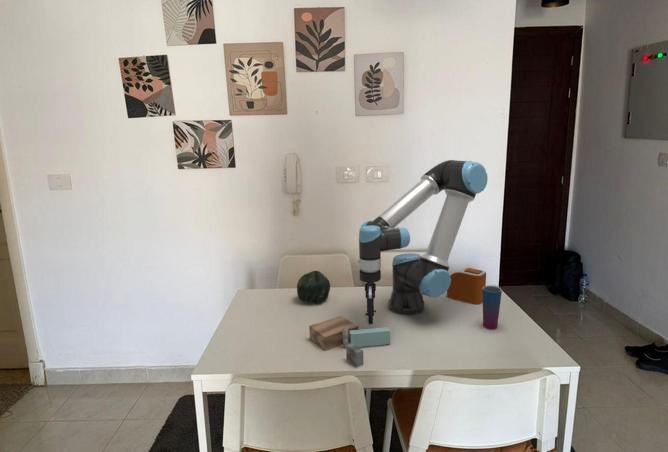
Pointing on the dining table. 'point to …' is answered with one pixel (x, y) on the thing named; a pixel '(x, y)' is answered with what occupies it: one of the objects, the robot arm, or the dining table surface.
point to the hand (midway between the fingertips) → (370, 330)
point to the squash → (313, 287)
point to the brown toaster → (467, 285)
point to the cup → (491, 306)
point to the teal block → (370, 337)
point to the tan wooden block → (337, 337)
